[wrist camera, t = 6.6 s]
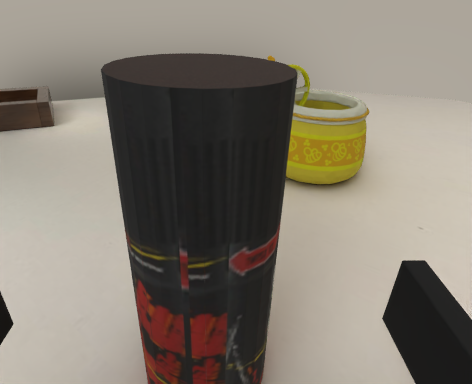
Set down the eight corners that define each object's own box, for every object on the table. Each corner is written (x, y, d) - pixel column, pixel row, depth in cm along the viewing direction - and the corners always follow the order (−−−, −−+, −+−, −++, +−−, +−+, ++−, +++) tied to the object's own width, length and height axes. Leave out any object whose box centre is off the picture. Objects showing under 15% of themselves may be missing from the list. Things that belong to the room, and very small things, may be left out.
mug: (352, 154, 44) (373, 54, 38) (366, 196, 35) (397, 72, 29) (252, 145, 46) (258, 48, 40) (240, 183, 36) (245, 62, 30)
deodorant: (141, 336, 20) (98, 54, 12) (239, 310, 21) (253, 52, 14) (157, 448, 15) (104, 94, 7) (282, 402, 17) (337, 83, 9)
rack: (-30, 134, 46) (-39, 108, 44) (-19, 113, 54) (-26, 90, 52) (54, 125, 50) (48, 101, 48) (53, 107, 58) (48, 86, 56)
